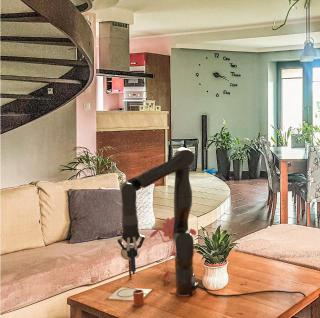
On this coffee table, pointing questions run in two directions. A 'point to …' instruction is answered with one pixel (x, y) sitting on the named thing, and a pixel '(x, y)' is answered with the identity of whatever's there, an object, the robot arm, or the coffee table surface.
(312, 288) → the coffee table surface
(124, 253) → the magnifying glass
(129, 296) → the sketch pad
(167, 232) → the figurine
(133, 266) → the marker
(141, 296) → the pen cup
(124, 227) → the robot arm
